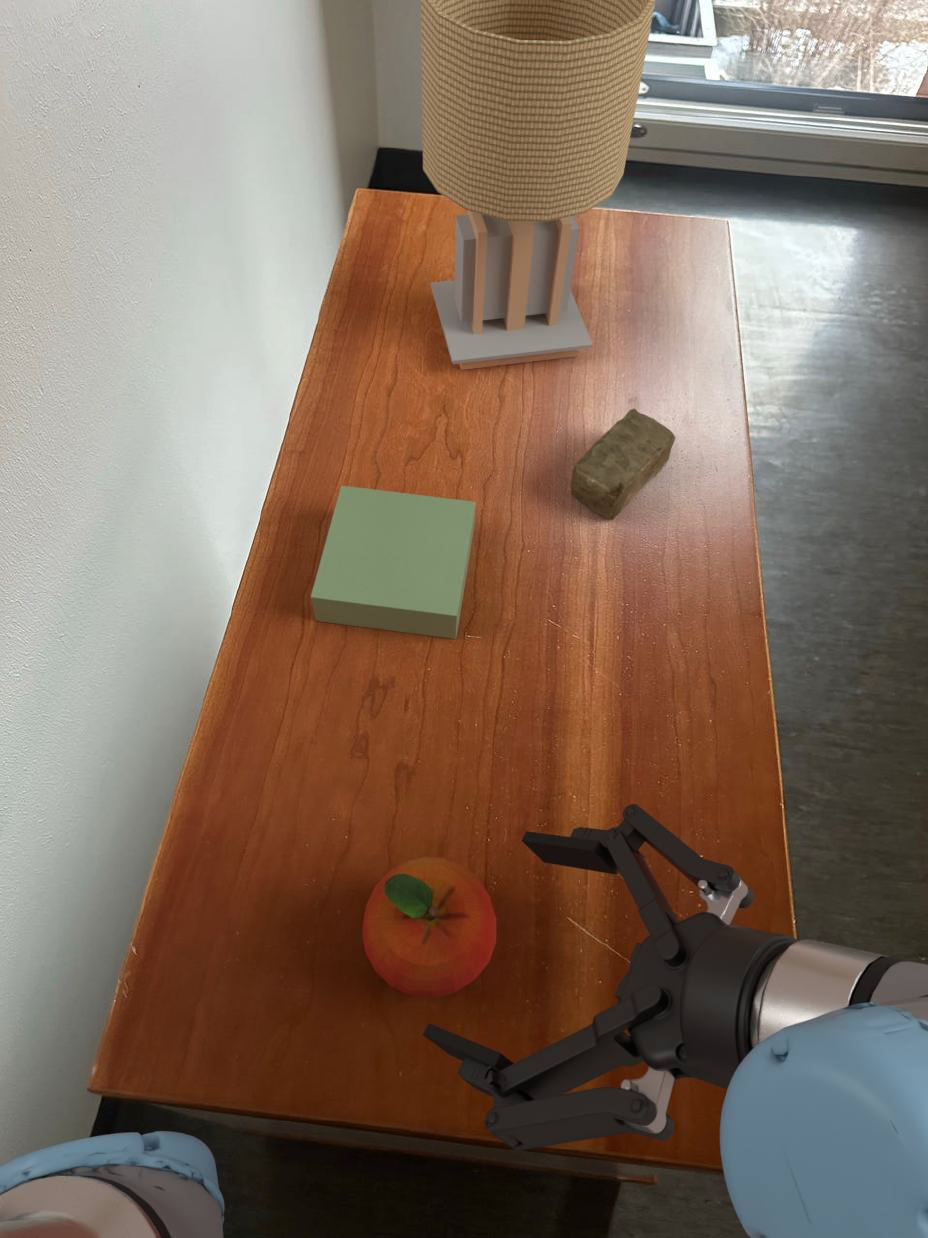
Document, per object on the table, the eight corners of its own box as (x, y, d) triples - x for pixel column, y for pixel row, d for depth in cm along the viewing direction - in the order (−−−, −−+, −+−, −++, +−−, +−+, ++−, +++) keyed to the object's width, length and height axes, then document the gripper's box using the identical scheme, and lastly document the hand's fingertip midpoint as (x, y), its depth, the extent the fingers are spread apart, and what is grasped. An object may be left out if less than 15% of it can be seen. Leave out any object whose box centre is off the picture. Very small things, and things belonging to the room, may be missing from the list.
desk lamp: (440, 398, 97) (442, 52, 67) (411, 284, 107) (401, -61, 78) (613, 378, 100) (688, 34, 70) (568, 268, 110) (617, -73, 80)
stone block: (563, 498, 90) (569, 465, 86) (624, 435, 95) (633, 400, 91) (611, 528, 88) (620, 494, 84) (671, 461, 93) (682, 427, 89)
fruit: (451, 1036, 63) (453, 1013, 55) (341, 962, 66) (327, 929, 58) (517, 919, 68) (529, 881, 60) (412, 853, 70) (408, 808, 62)
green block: (456, 639, 81) (457, 616, 78) (315, 621, 82) (310, 597, 78) (474, 527, 88) (476, 501, 85) (344, 511, 89) (341, 484, 85)
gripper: (745, 1350, 37) (432, 1160, 53) (888, 836, 49) (597, 808, 65) (652, 1288, 34) (349, 1106, 50) (830, 755, 46) (539, 746, 62)
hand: (489, 937), depth 58 cm, fingers open, 13 cm apart
